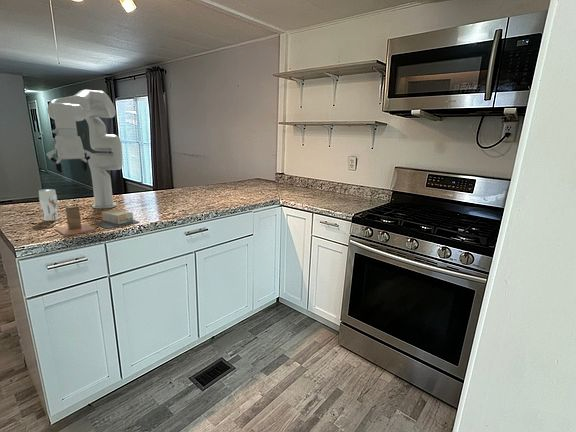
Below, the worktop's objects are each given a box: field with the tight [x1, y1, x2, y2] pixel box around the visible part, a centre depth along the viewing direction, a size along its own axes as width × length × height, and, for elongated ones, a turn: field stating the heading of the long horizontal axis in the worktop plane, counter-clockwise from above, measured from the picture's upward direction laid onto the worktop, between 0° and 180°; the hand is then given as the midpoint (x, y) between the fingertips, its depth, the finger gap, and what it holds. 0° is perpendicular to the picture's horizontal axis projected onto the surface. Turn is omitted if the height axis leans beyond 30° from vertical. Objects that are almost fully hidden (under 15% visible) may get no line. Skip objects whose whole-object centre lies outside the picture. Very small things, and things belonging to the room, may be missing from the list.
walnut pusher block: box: [65, 205, 82, 230], centre depth 141 cm, size 4×4×10 cm
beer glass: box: [38, 188, 60, 222], centre depth 155 cm, size 7×7×15 cm
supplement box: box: [101, 208, 134, 224], centre depth 156 cm, size 8×5×13 cm
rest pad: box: [55, 223, 96, 237], centre depth 142 cm, size 12×12×1 cm
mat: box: [94, 219, 140, 230], centre depth 155 cm, size 13×16×1 cm
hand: (72, 171), depth 141 cm, fingers open, 9 cm apart
